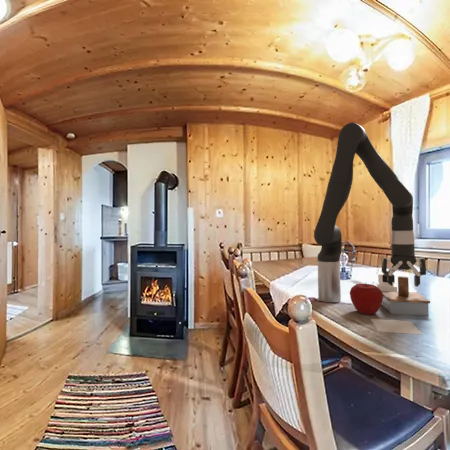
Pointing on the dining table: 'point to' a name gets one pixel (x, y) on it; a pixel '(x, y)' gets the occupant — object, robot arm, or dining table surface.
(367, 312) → the apple
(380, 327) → the mat
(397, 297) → the lid
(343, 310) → the dining table surface
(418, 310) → the grey open box
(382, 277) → the medicine bottle
